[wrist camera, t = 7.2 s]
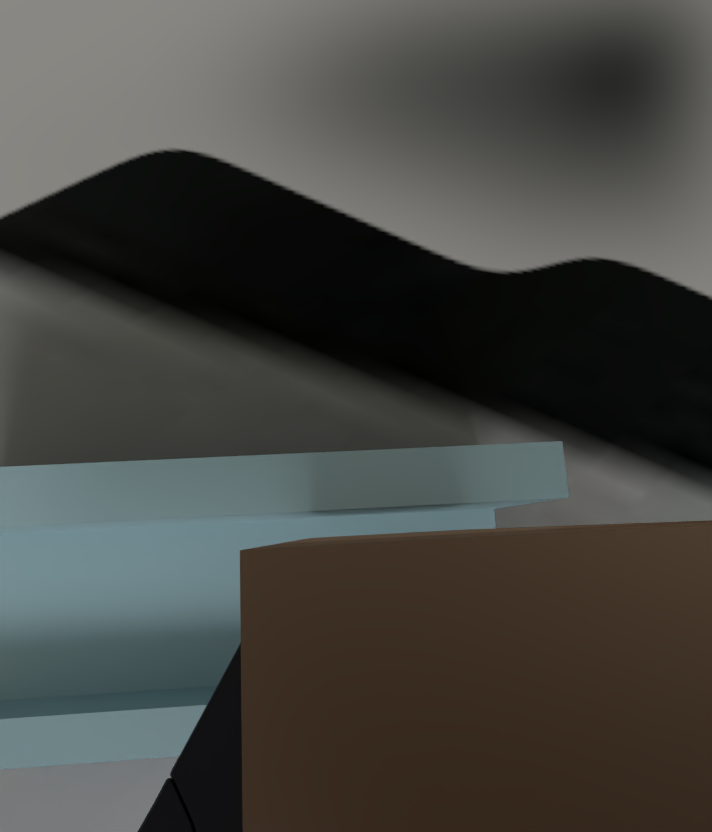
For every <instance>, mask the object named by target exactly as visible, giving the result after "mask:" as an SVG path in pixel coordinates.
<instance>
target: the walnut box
mask: <svg viewBox="0 0 712 832" xmlns="http://www.w3.org/2000/svg"><path fill="white" fill-rule="evenodd" d="M240 622H241V718H242V814H243V832H712V521H687V522H660V523H632V524H604V525H577V526H549V527H521V528H494V529H466V530H447V531H429V532H410V533H392V534H373V535H355V536H336V537H317V538H307V539H301V540H296V541H290V542H284V543H279V544H273V545H267V546H262V547H256V548H250V549H245V550H240Z"/></svg>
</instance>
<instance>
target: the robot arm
mask: <svg viewBox="0 0 712 832" xmlns="http://www.w3.org/2000/svg"><path fill="white" fill-rule="evenodd" d="M170 776H171V778H172V779H171V778H168V779H167V780H166V781H165V783H164V785H163V787H162V789H161V791H160V793H159V794H158V796H157V798H156V800H155V802H154V804H153V806H152V807H151V809H150V811H149V813H148V814H147V816H146V818H145V820H144V821H143V823H142V825H141V827H140V828H139V830H138V832H243V814H242V718H241V642H240V644H239V646H238V648H237V650H236V652H235V653H234V655H233V657H232V659H231V661H230V663H229V665H228V666H227V668H226V670H225V672H224V674H223V676H222V678H221V679H220V681H219V683H218V685H217V687H216V689H215V691H214V692H213V694H212V696H211V698H210V700H209V702H208V704H207V706H206V707H205V709H204V711H203V713H202V715H201V717H200V719H199V720H198V722H197V724H196V726H195V728H194V730H193V732H192V733H191V735H190V737H189V739H188V741H187V743H186V745H185V746H184V748H183V750H182V752H181V754H180V756H179V758H178V760H177V761H176V763H175V765H174V767H173V769H172V771H171V773H170Z"/></svg>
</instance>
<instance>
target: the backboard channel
mask: <svg viewBox="0 0 712 832" xmlns="http://www.w3.org/2000/svg"><path fill="white" fill-rule="evenodd" d="M564 498H569V492H568V484H567V476H566V468H565V460H564V453H563V445H562V441H554V442H533V443H511V444H489V445H467V446H445V447H423V448H402V449H380V450H358V451H336V452H314V453H292V454H271V455H249V456H227V457H205V458H183V459H161V460H140V461H118V462H96V463H74V464H52V465H30V466H9V467H0V769H14V768H27V767H41V766H54V765H68V764H81V763H95V762H108V761H122V760H135V759H149V758H162V757H176V756H180V754H181V752H182V750H183V748H184V746H185V745H186V743H187V741H188V739H189V737H190V735H191V733H192V732H193V730H194V728H195V726H196V724H197V722H198V720H199V719H200V717H201V715H202V713H203V711H204V709H205V707H206V706H207V704H208V702H209V700H210V698H211V696H212V694H213V692H214V691H215V689H216V687H217V685H218V683H219V681H220V679H221V678H222V676H223V674H224V672H225V670H226V668H227V666H228V665H229V663H230V661H231V659H232V657H233V655H234V653H235V652H236V650H237V648H238V646H239V644H240V642H241V622H240V550H245V549H250V548H256V547H262V546H267V545H273V544H279V543H284V542H290V541H296V540H301V539H307V538H317V537H336V536H355V535H373V534H392V533H410V532H429V531H447V530H466V529H494V528H496V524H495V514H494V509H497V508H504V507H511V506H517V505H524V504H531V503H537V502H544V501H551V500H558V499H564Z"/></svg>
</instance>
